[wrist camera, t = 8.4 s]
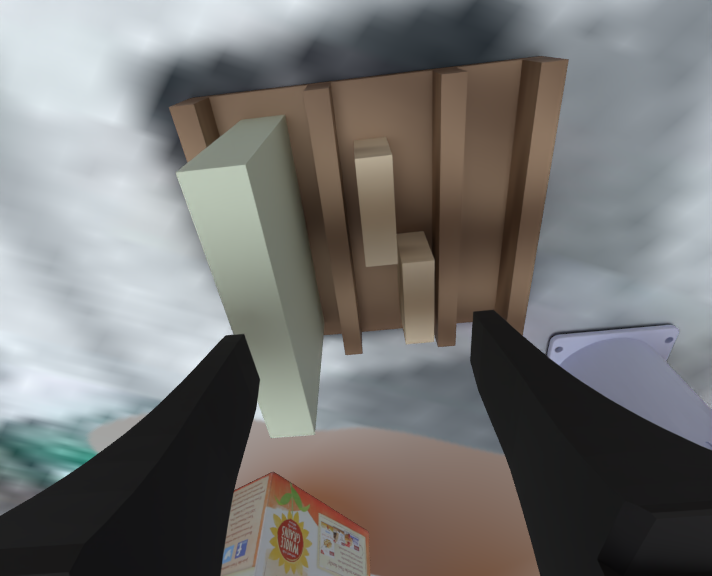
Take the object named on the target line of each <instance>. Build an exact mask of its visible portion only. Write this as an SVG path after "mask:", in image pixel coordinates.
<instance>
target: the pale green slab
mask: <svg viewBox="0 0 712 576" xmlns="http://www.w3.org/2000/svg"><path fill="white" fill-rule="evenodd" d="M176 175H177V178H178V181H179V183H180V186H181V189H182V192H183V194H184V197H185V200H186V203H187V206H188V208H189V211H190V214H191V217H192V220H193V222H194V225H195V228H196V231H197V234H198V236H199V239H200V242H201V245H202V248H203V250H204V253H205V256H206V259H207V261H208V264H209V267H210V270H211V273H212V275H213V278H214V281H215V284H216V287H217V289H218V292H219V295H220V298H221V301H222V303H223V306H224V309H225V312H226V315H227V317H228V320H229V323H230V326H231V329H232V331H233V334H234V335H237V334H244V335H245V338H246V340H247V343H248V346H249V349H250V352H251V355H252V358H253V360H254V363H255V366H256V369H257V372H258V375H259V378H260V385H259V393H258V400H257V401H258V404H259V407H260V409H261V412H262V415H263V418H264V421H265V423H266V426H267V429H268V432H269V435H270V437H271V438H278V437H291V436H304V435H315V427H316V416H317V404H318V393H319V381H320V369H321V358H322V346H323V335H324V318H323V313H322V307H321V302H320V297H319V291H318V286H317V281H316V276H315V270H314V265H313V260H312V254H311V249H310V244H309V239H308V233H307V228H306V223H305V217H304V212H303V207H302V202H301V196H300V191H299V186H298V180H297V175H296V170H295V165H294V159H293V154H292V149H291V143H290V138H289V133H288V128H287V122H286V117H285V115H277V116H269V117H260V118H252V119H243V120H240V121H239V122H238V123H237V124H235V125H234V126H233V127H232V128H231V129H229V130H228V131H227V132H226V133H224V134H223V135H222V136H221V137H219V138H218V139H217V140H216V141H214V142H213V143H212V144H211V145H209V146H208V147H207V148H206V149H204V150H203V151H202V152H201V153H199V154H198V155H197V156H196V157H194V158H193V159H192V160H191V161H189V162H188V163H187V164H186V165H184V166H183V167H182V168H181V169H179V170H178V171H177V172H176Z"/></svg>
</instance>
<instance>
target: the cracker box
mask: <svg viewBox="0 0 712 576" xmlns="http://www.w3.org/2000/svg"><path fill="white" fill-rule="evenodd" d="M221 576H370V550H369V532H368V531H367V530H366V529H364V528H362V527H360V526H359V525H357V524H356V523H354V522H352V521H351V520H349V519H348V518H346V517H345V516H343V515H342V514H340V513H338V512H337V511H335V510H333V509H332V508H330V507H328V506H327V505H326V504H324V503H322V502H321V501H319V500H318V499H316V498H314V497H313V496H311V495H310V494H308V493H307V492H305V491H303V490H302V489H300V488H298V487H297V486H296V485H294V484H292V483H291V482H289V481H287V480H286V479H284V478H283V477H281V476H280V475H278V474H276V473H275V472H271V473H269V474H267V475H265V476H263V477H261V478H259V479H257V480H255V481H252V482H250V483H248V484H246V485H244V486H242V487H240V488H238V489H236V490H234V493H233V499H232V505H231V510H230V516H229V522H228V528H227V535H226V541H225V548H224V554H223V561H222V569H221Z"/></svg>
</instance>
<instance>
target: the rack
mask: <svg viewBox="0 0 712 576" xmlns="http://www.w3.org/2000/svg"><path fill="white" fill-rule="evenodd" d="M568 60H569V59H561V58H552V57H544V56H537V57H529V58H520V59H512V60H504V61H495V62H487V63H479V64H470V65H462V66H454V67H445V68H437V69H429V70H420V71H412V72H404V73H395V74H387V75H379V76H370V77H362V78H354V79H345V80H337V81H328V82H320V83H312V84H303V85H295V86H287V87H278V88H270V89H262V90H253V91H245V92H237V93H228V94H220V95H212V96H203V97H195V98H190V99H187V100H185V101H183V102H180V103H178V104H175V105H173V106H170V107H169V109H170V112H171V115H172V118H173V120H174V123H175V126H176V129H177V132H178V135H179V138H180V141H181V144H182V147H183V150H184V153H185V156H186V159H187V162H189V161H191V160H192V159H193V158H194V157H196V156H197V155H198V154H199V153H201V152H202V151H203V150H204V149H206V148H207V147H208V146H209V145H211V144H212V143H213V142H214V141H216V140H217V139H218V138H219V137H221V136H222V135H223V134H224V133H226V132H227V131H228V130H229V129H231V128H232V127H233V126H234V125H235V124H237V123H238V122H239V121H240V120H243V119H252V118H260V117H269V116H277V115H285V117H286V122H287V128H288V133H289V138H290V143H291V149H292V154H293V159H294V165H295V170H296V175H297V180H298V186H299V191H300V196H301V202H302V207H303V212H304V217H305V223H306V228H307V233H308V239H309V244H310V249H311V254H312V260H313V265H314V270H315V276H316V281H317V286H318V291H319V297H320V302H321V307H322V313H323V318H324V335H331V334H342V336H343V342H344V348H345V355H353V354H363V353H362V332H365V331H376V330H387V329H398V328H403V325H402V320H401V314H400V307H399V289H398V270H397V264H392V265H382V266H372V267H366V262H365V253H364V243H363V234H362V224H361V215H360V205H359V196H358V186H357V177H356V167H355V155H354V140H363V139H372V138H381V137H386V138H387V141H388V144H389V147H390V150H391V153H392V160H393V179H394V198H395V217H396V234H400V233H410V232H420V231H424V233H425V236H426V239H427V241H428V244H429V247H430V250H431V252H432V255H433V258H434V260H435V271H434V335H435V338H436V342H437V345H438V347H444V346H455V342H456V323H465V322H473V312H474V311H484V310H494V311H496V312H497V313H498V314H499V315H500V316H501V317H502V318H503V319H505V320H506V321H507V322H508V323H509V324H510V325H511V326H512V327H513V328H514V329H516V330H517V331H518V332H519V333H520V334H521V335H522V336H523V330H524V324H525V318H526V312H527V306H528V300H529V294H530V288H531V282H532V276H533V270H534V264H535V258H536V252H537V246H538V240H539V234H540V228H541V222H542V216H543V210H544V204H545V198H546V192H547V186H548V180H549V174H550V168H551V162H552V156H553V150H554V144H555V138H556V132H557V126H558V120H559V114H560V108H561V102H562V96H563V90H564V84H565V78H566V72H567V66H568Z"/></svg>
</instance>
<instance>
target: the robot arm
mask: <svg viewBox="0 0 712 576" xmlns="http://www.w3.org/2000/svg"><path fill="white" fill-rule="evenodd" d="M678 334H679V329H678V328H677V327H676V326H674V325H662V326H651V327H640V328H628V329H617V330H605V331H594V332H583V333H571V334H560V335H556V336H554V337H552V338H551V340H550V344H549V348H548V353H547V356H546V355H545V354H544V353H543V352H541V351H540V350H539V349H538V348H537V347H535V346H534V345H533V344H532V343H530V342H529V341H528V340H527V339H526V338H525V337H524V336H522V335H521V334H520V333H519V332H518V331H517V330H516V329H514V328H513V327H512V326H511V325H510V324H509V323H508V322H507V321H506V320H505V319H503V318H502V317H501V316H500V315H499V314H498V313H497V312H496V311H494V310H484V311H474V312H473V324H472V341H471V358H470V361H471V365H472V369H473V373H474V377H475V380H476V384H477V387H478V391H479V393H480V396H481V398H482V401H483V403H484V405H485V408H486V410H487V413H488V415H489V418H490V420H491V423H492V425H493V427H494V430H495V432H496V435H497V437H498V439H499V442H500V444H501V447H502V449H503V452H504V454H505V457H506V459H507V462H508V465H509V468H510V470H511V474H512V477H513V480H514V484H515V487H516V490H517V493H518V497H519V500H520V503H521V507H522V510H523V514H524V518H525V521H526V525H527V528H528V531H529V535H530V538H531V542H532V546H533V549H534V554H535V557H536V561H537V565H538V569H539V572H540V576H712V409H711V408H710V407H709V406H708V405H707V404H706V403H705V402H704V401H703V400H702V399H701V398H700V397H699V396H698V394H697V393H696V392H695V391H694V390H693V389H692V388H691V387H690V386H689V385H688V384H687V383H686V382H685V381H684V380H683V379H682V378H681V377H680V376H679V375H678V374H677V373H676V372H675V371H674V370H673V369H672V367H671V366H670V365H669V364H668V363H667V362H666V361H667V359H668V357H669V354H670V352H671V350H672V348H673V345H674V343H675V341H676V339H677V337H678ZM557 347H558V348H557ZM259 385H260V378H259V375H258V372H257V369H256V366H255V363H254V360H253V358H252V355H251V352H250V349H249V346H248V343H247V340H246V338H245V335H244V334H237V335H226V336H225V337H224V338H223V339H222V340H221V341H220V342H219V343H218V344H217V345H216V346H215V347H214V348H213V349H212V350H211V351H210V352H209V354H208V355H207V356H206V357H205V358H204V359H203V360H202V361H201V362H200V363H199V364H198V365H197V366H196V368H195V369H194V370H193V371H192V372H191V373H190V374H189V375H188V376H187V377H186V378H185V379H184V380H183V381H182V382H181V383H180V384H179V385H178V386H177V387H176V388H175V389H174V390H173V391H172V392H171V393H170V394H169V395H168V396H167V397H166V398H165V399H164V400H163V401H162V402H161V403H160V404H159V405H158V406H157V407H155V408H154V409H153V410H152V411H151V412H150V413H149V414H148V415H146V416H145V417H144V418H143V419H142V420H141V421H140V422H139V423H137V424H136V425H135V426H134V427H132V428H131V429H130V430H129V431H127V432H126V433H125V434H124V435H123V436H121V437H120V438H119V439H117V440H116V441H115V442H113V443H112V444H111V445H110V446H108V447H107V448H105V449H104V450H103V451H101V452H100V453H98V454H97V455H96V456H94V457H93V458H92V459H90V460H89V461H88V462H86V463H85V464H83V465H82V466H80V467H79V468H77V469H76V470H74V471H73V472H72V473H70V474H69V475H67V476H66V477H64V478H62V479H61V480H59V481H58V482H56V483H55V484H53V485H51V486H50V487H48V488H47V489H45V490H44V491H42V492H40V493H39V494H37V495H35V496H34V497H32V498H30V499H29V500H27V501H25V502H23V503H22V504H20V505H18V506H17V507H15V508H13V509H11V510H10V511H8V512H6V513H4V514H3V515H1V516H0V576H221V569H222V561H223V554H224V548H225V541H226V535H227V528H228V522H229V516H230V510H231V505H232V499H233V493H234V488H235V484H236V480H237V476H238V472H239V468H240V465H241V462H242V458H243V455H244V451H245V447H246V444H247V440H248V437H249V433H250V429H251V426H252V422H253V419H254V415H255V411H256V406H257V400H258V393H259Z"/></svg>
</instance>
